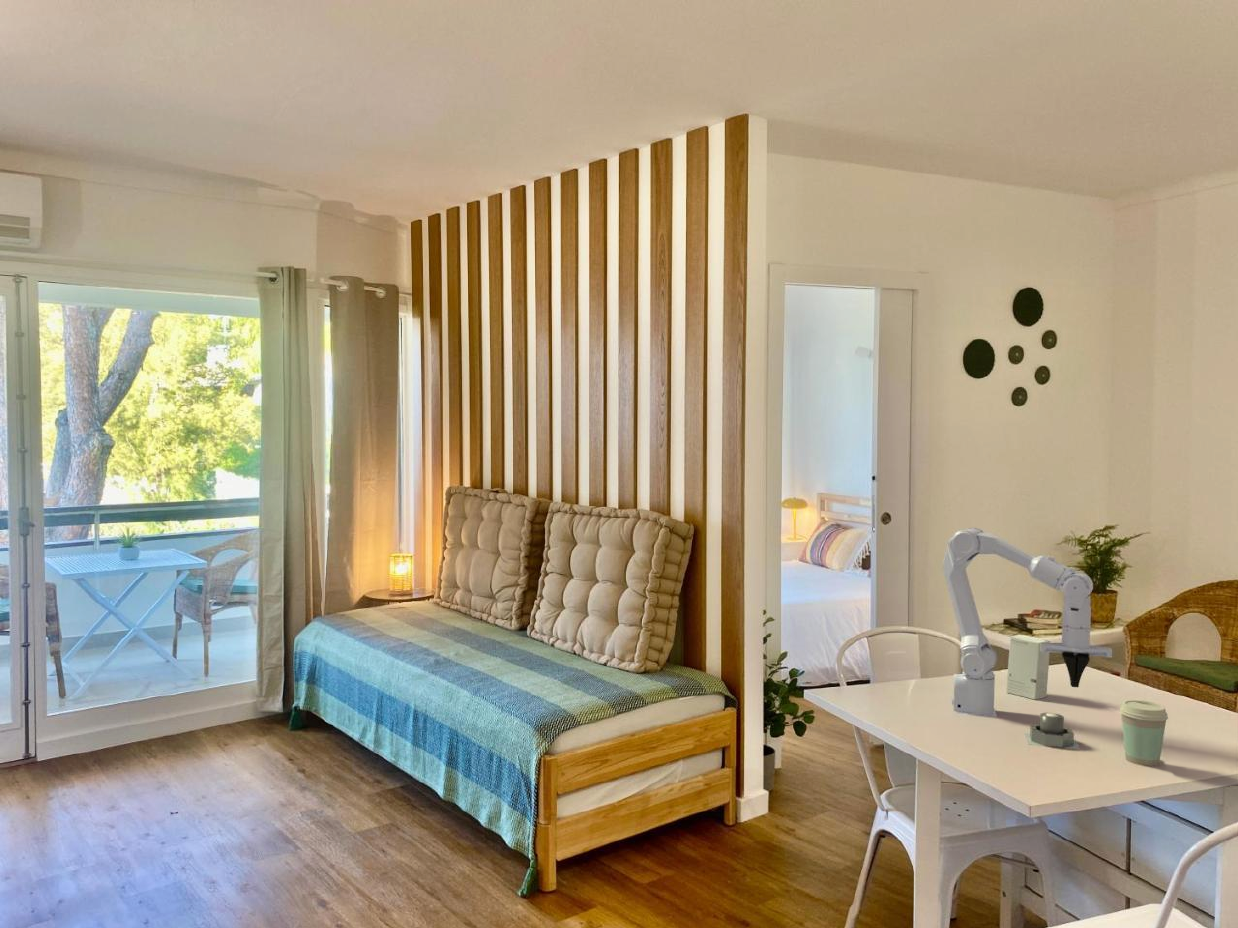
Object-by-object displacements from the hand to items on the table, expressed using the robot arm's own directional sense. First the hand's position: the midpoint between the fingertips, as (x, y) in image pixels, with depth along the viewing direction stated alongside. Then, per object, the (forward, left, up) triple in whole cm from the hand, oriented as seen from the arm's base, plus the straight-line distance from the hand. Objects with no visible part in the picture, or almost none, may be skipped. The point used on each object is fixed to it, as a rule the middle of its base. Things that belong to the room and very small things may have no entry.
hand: (1074, 686), depth 210 cm
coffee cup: (+10, -20, -10) cm, 25 cm away
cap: (-6, -13, -9) cm, 17 cm away
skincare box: (-7, +28, -10) cm, 31 cm away
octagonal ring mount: (-6, -13, -9) cm, 17 cm away
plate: (-6, -13, -10) cm, 17 cm away
